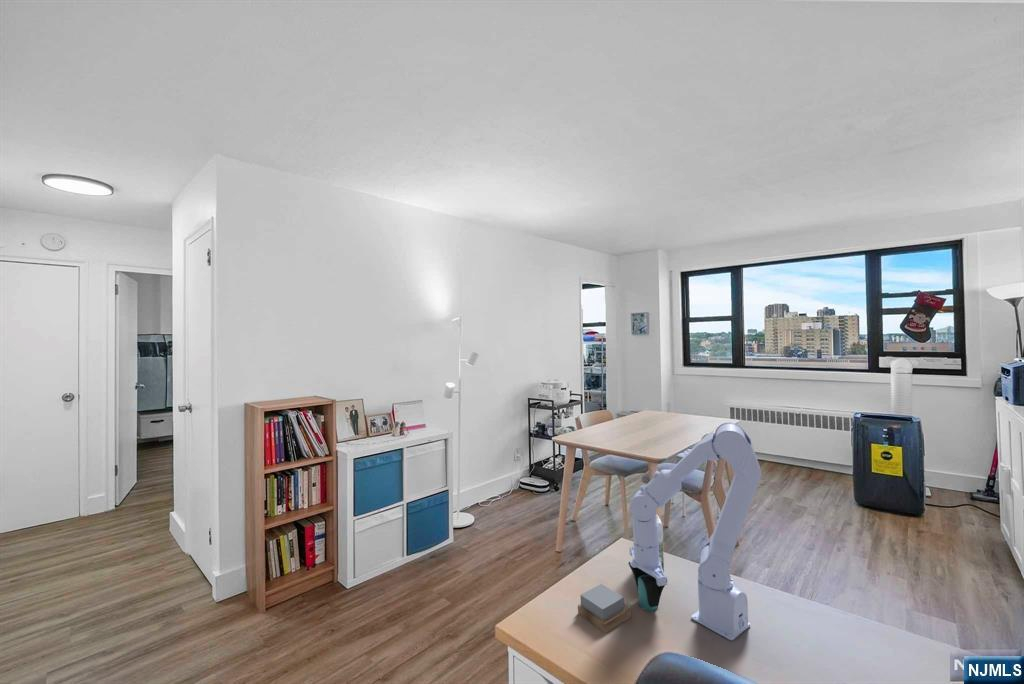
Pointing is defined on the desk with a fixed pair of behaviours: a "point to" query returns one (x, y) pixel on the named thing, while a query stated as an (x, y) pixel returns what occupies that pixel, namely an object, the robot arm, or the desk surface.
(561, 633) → the desk surface
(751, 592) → the desk surface
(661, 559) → the syrup box
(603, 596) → the grey slab
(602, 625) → the walnut slab
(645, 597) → the teal capsule
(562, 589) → the desk surface
